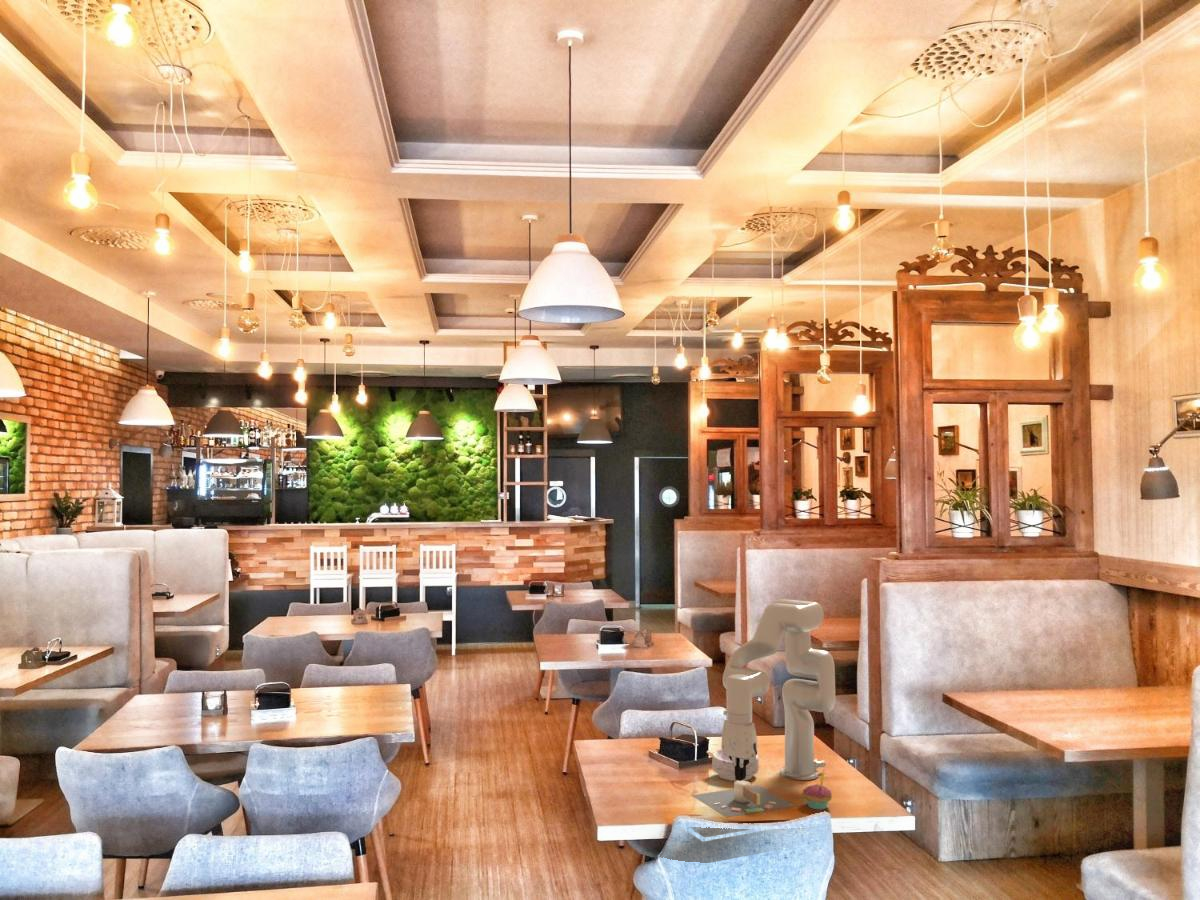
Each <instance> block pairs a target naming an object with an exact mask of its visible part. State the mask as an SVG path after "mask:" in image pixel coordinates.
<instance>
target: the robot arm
mask: <svg viewBox="0 0 1200 900" xmlns="http://www.w3.org/2000/svg"><path fill="white" fill-rule="evenodd" d="M824 613H825V612H824V610H823V607H822V606H821V604H819V603H818V602H816V601H807V600H805V601H804V600H799V599H798V600H797V599H784V598H781V599H776V600H774V601H772V603H771V604H768V605H767V606H766V607H765V609H764V611H763V613H762V615H761V617H760V620H759V623H758V626H757V627H756V630H755V633H754V635H753V638H751V639H750V640H748V641H746V642H745V643H743V644H742V645H740V647H738V648H737V649H736V650H734V651H733V653H732V654H731V655H730V657H729V659H728V661H727V663H726V665H725V668H724V670H723V671H724V672H723V674H722V685H723V688H724V689H726V691H725V695H726V697H725V698H726V710H724V711H723V715H724V716H726V719H725V720H724V721H723V725H722V733H721V749H722V752H723V753H724V756H726V757H728V758H730V760H731V761H732V763H733V766H735V780H739V781H741V780H743V779H745V778H746V766H747V765H748V764H749V763H755V762H756V761H757V759H756V755H758V739H757V737H758V736H757V730H756V727H755V723H754V722H753V698H755V697H761V696H764V695H765V694H767V692H768V691H769V690H770V686H771V679H770V678H771V677H770V676H769V675H768V673H766V672H765V671H763V670H759V669H758V670H757V669H752V668H745V666H746V665H747V664H749V663H751V662H753V661H756V660H760V659H763V658H767V657H770V656H772V655H775V654H776V653H777V652H779V648H780V647H781V644H782V641H783V638H784V644H785V651H784V652H785V667H786V668H785V669H786V671H787V673H789V674H790V675H792V676H795V677H796V676H797V677H801V679H800V678H790V679H788V680H786V681H785V682H784V683H783V685H782V689H781V692H782V693H781V695H782V701H783V707H784V766H782V767H780V769H779V773H780V775H781V776H783V777H785V778H787V779H789V780H790V779H791V780H797V781H810V780H814V779H817V778H819V771H818V770H817V769H818V768H825V767H826V761H825V760H819V761H818V759H815V756H814V755H815V723H814V719H813V716H812V715H811V712H810V711H812V712H813V711H814V712H818V713H819V712H820V713H830V712H831V711H832V710H833V709H834V708H835V704H836V668H835V661H834V657H833V655H832V654H831V653H830V652H829V651H827V650H824V649H823V650H822V649H815V648H813V647H812V638H811V631H812V630H813V631H814V630H817V629H818V628H819V627H820V626H821V625H822V624H823V621H824ZM802 678H809V679H807V680H806V679H802ZM810 679H815V680H816V681H815V680H810Z"/></svg>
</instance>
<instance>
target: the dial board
mask: <svg viewBox="0 0 1200 900" xmlns="http://www.w3.org/2000/svg"><path fill="white" fill-rule="evenodd" d="M751 788H752V789H754V790H755V791H757V792H758V793H760V805H757V804H754V803H753V802H751V801H750V802H747V803H741V802H737V801H735V800H734V788H731V789H723V790H717V791H711V792H705V793H704V792H703V793H697V794H693V795H691V796H692V797H694V798H695V799H696V800H698V801H700V802H701V803H703V804H704V805H706V806H708V807H709V808H711V809H713V810H714V811H716V812H718V813H719V814H721V815H722V816H724V817H726V818H730V817H732V818H733V817H737V816H743V815H749V814H754V813H755V814H756V813H761V812H766V811H767V812H768V811H773V810H780V809H784V808H785V809H786V808H789V807H795V805H794V804H792V803H791V802H789V801H787V800H785V799H783V798H781V797H779V796H778V795H776V794H774V793H772V792H770V791H768V790H766V789H764V788H763V787H761V786H759V785H751Z"/></svg>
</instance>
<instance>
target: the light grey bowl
mask: <svg viewBox="0 0 1200 900" xmlns="http://www.w3.org/2000/svg"><path fill="white" fill-rule="evenodd" d="M756 759H757V761H756V762H755V763H749V764H748V765H747V766H746V778H745V779H743V780H741V781H748V780H751V779H752V778H753V776H754V775H756V774H758V772H759V770H760V767H759V765H760V764H759V763H760V762H759V759H760V758H759V755H758V754H757V755H756ZM711 760H712V762H711V763H712V765H711V766H712V771H713V772H715V773H716V774H718V777H719V778H720V779H721V780H722V779H723V780H725V781H727V780H728V781H732V782H735V781H739V780H735V766H733V763H732V761H731V760H730V758H728V757H726V756H724V753H723V752H722V748H721V749H717V750H715V751H713V753H712V755H711Z"/></svg>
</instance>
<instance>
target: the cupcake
mask: <svg viewBox="0 0 1200 900" xmlns="http://www.w3.org/2000/svg"><path fill="white" fill-rule="evenodd" d="M824 778H825V769H823V770H822V772H821V777H820V784H812V785H808V786H807V787H806V786H805V788H804V789H803V790H802V797H803V798H804V799H805V800H806V802H807V805H808V807H809V808H811V809H813V810H814V809H815V810H825V809H826V808H827V806H828V804H829V801H830V802H831V800H832V797H833V795H832V791H831V789H829V788H828V787H826V786H823V783H824Z"/></svg>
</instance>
